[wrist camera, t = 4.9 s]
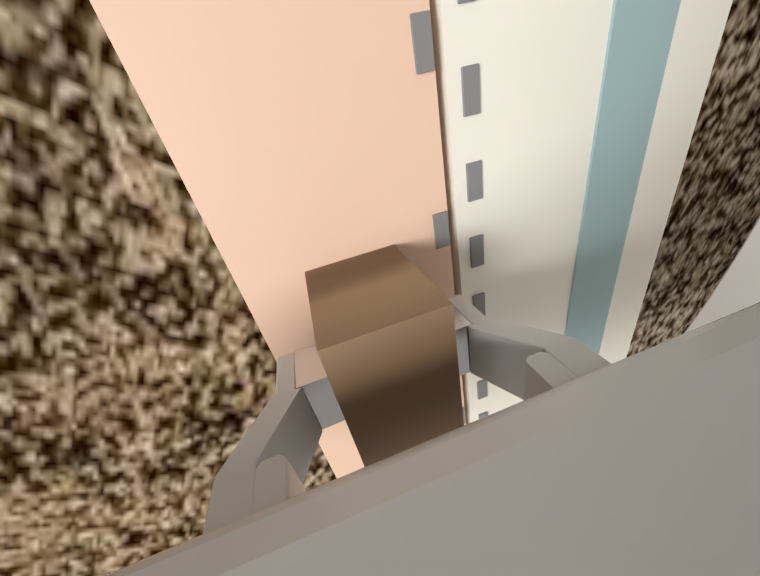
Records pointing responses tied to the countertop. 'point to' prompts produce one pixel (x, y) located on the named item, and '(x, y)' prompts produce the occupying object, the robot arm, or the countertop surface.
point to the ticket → (565, 156)
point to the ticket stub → (317, 190)
